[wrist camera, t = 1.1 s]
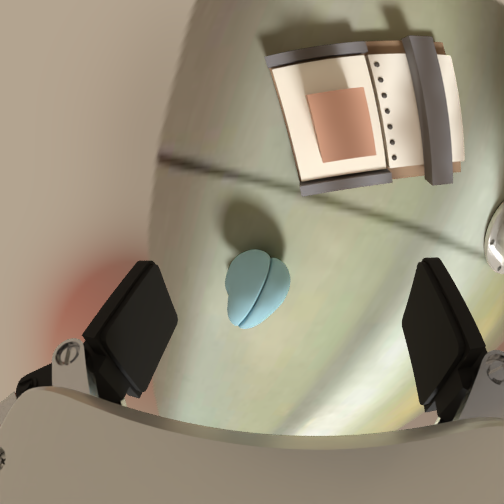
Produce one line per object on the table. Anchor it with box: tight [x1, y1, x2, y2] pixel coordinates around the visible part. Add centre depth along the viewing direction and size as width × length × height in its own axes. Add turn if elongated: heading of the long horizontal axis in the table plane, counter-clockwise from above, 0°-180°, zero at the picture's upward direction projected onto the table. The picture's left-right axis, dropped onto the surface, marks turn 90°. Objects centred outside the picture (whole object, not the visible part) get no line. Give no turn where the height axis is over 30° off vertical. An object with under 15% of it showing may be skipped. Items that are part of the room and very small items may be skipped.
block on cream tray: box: [272, 55, 386, 182], centre depth 20 cm, size 8×11×7 cm
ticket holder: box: [265, 36, 465, 196], centre depth 21 cm, size 18×14×4 cm
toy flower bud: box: [225, 249, 290, 329], centre depth 32 cm, size 7×9×12 cm
